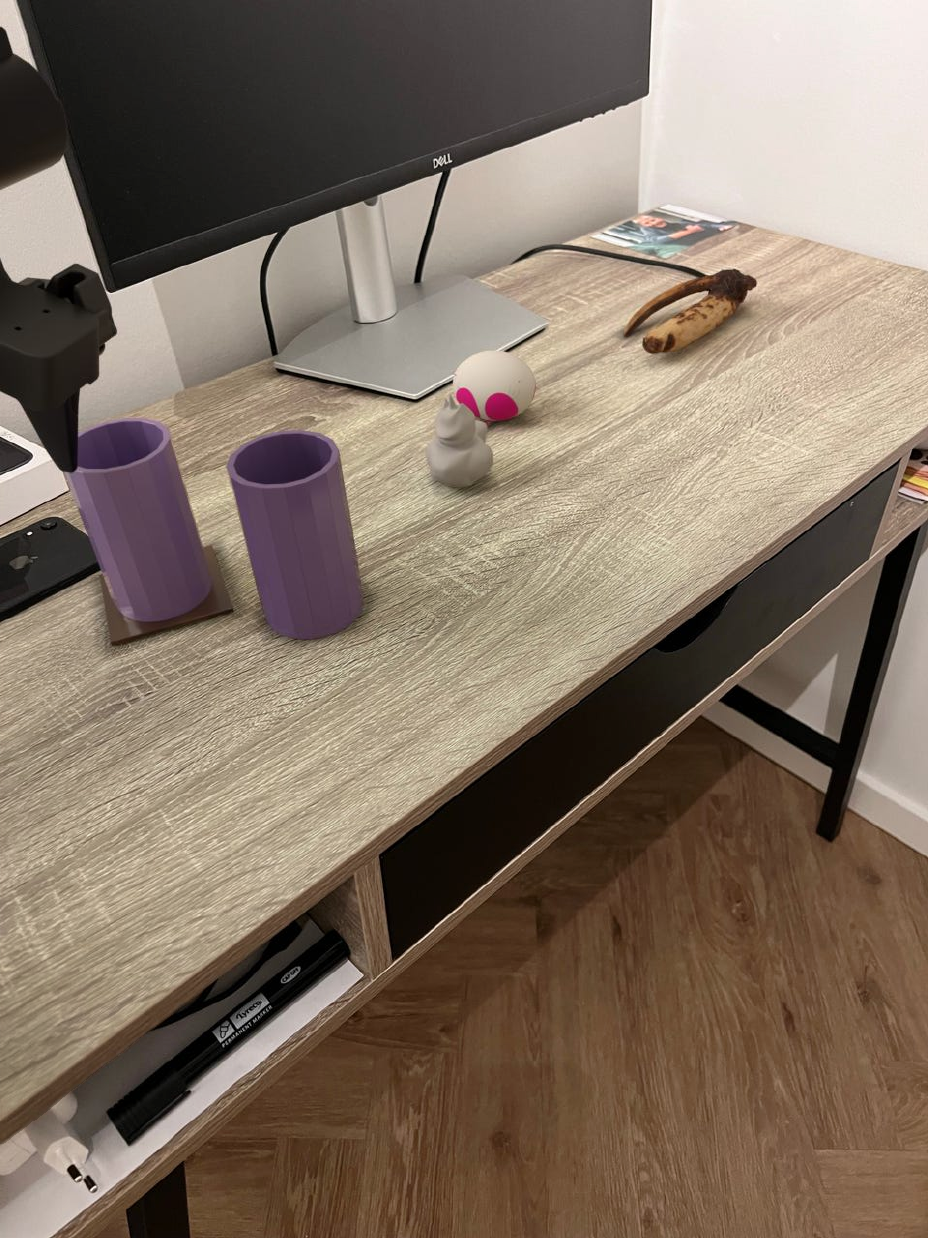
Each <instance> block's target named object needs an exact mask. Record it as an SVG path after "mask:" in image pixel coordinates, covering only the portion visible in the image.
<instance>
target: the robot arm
mask: <svg viewBox="0 0 928 1238" xmlns="http://www.w3.org/2000/svg"><path fill="white" fill-rule="evenodd" d="M68 143H69V126H68V121H67V115H66V111H65V109H64V106H63V103H62V101H61V99H60V98H59V97H57V96H56V95H55V93H54V91H53V89H52V88H51V86H50V84H49V83H48V82H47V80H46V79H45V78H44V76H43V75H42V74H41V73H40V72H39V70H37V69H36V68H35V67H34V66H33V65H32V64H31V63H30V62H28V61H27V60H26V59H24V58H22V57H21V56H20V55H18V54H16V53H14V52H13V48H12V45H11V41H10V39H9V36H8V32H7V30H6V29H5V28H4V27H3V26H0V191H2V190H4V189H7V188H8V187H11V186H13V185H15V184H18V183H19V182H21V181H24V180H27V179H28V178H30V177H32V176H35V175H37V174H39V173H41V172H43V171H45V170H49V169H50V168H52V167H54V166H55V165H56V164H57V163H59V162H60V161H61V159H62V158H63V157H64V155H65V153H66V151H67V147H68ZM117 334H118V329H117V325H116V323H115V320H114V317H113V307H112V304H111V301H110V299H109V296H108V293H107V291H106V288H105V287H104V284H103V281H102V279H101V276H100V274H99V273H98V272H96V271H95V270H92V269H90V268H88V267H86V266H84V265H82V264H80V263H73V264H70V265H69V266H68V267H66V268H64V269H63V270H60V271H59V272H57V273H56V274H54V275H53V276H52V277H51V278H50V279H49V278H39V277H28V276H27V277H25V278H24V279H22V280H20V281H18V282H16V281H14V280H13V279H12V278H11V276H10V275H9V274H8V272H7V271H6V269H5V267H4V265H3V261H2V259H1V258H0V393H2V394H5V395H6V396H8V397H11V398H13V399H14V400H16V401H18V403H19V404H20V406H21V408H22V410H23V411H24V412H25V415H26V417H27V419H28V420H29V423H30V424H31V426H32V428H33V430H34V432H35V433H36V436H37V437H38V439H39V440H40V442H41V444H42V446H43V448H44V449H45V451H46V452H47V454H48V455H49V457H50V458H51V460H52V461H53V462H54V464H55V466H56V467H57V469H58V470H59V471H60V472H63V473H64V472H69V473H73V472H74V471H76V470H77V467H78V433H79V412H80V411H79V409H80V395H81V389H83V387H85V386H86V385H91V384H93V383H95V382H96V381H98V379H99V378H100V356H102V355H103V354H104V352H105V350H106V343H107V342H109V341H110V340H111V339H113V338H114V337H115V336H117Z"/></svg>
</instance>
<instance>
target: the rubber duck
mask: <svg viewBox="0 0 928 1238" xmlns="http://www.w3.org/2000/svg"><path fill="white" fill-rule="evenodd" d="M485 423H486V422H485V421H482V420H478V419H477V420H476V416H475V415H474V414H473V412H472V411H471V410H470V409H469V408H468V407H466V406H465V405H464V404H463V403H461V404H457V403H456V402H455V400H454V398H453V396H452V394H451V393H449V395H448V399H446V398H444V400H443V402H442V405H441V407H440V409H439V411H438V412H437V414H436V416H435V421H434V435H435V436H434V437H433V438H432V439H430V441H429V442H428V444H427V446H426V454H425V455H426V461H427V465H428V467H429V472H430V475H431V477H432V478H433V480H434V481H436V482H437V483H438V484H441V485H445V486H447V487H450V488H451V487H452V488H466V487H469V486H472V485H473V484H475V483H476V482H477V481H479V480H481V479H482V478H483V477H484V476H485V475H486V474H487V473H488V472H490V470H492V467H493V463H494V452H493V449H492V447H491V446H490V445H489V444H487V435H488V424H487V425H486V424H485Z"/></svg>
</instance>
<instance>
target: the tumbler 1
mask: <svg viewBox="0 0 928 1238" xmlns="http://www.w3.org/2000/svg"><path fill="white" fill-rule="evenodd" d="M63 473H64V477H65V479H66V481H67V484H68V486H69V489H70V492H71V495H72V497H73V500H74V503H75V505H76V508H77V510H78V513H79V515H80V518H81V521H82V524H83V526H84V529H85V532H86V534H87V537H88V539H89V542H90V545H91V547H92V550H93V553H94V555H95V558H96V560H97V563H98V566H99V569H100V571H101V574H103V576H104V579H105V582H106V584H107V587H108V590H109V592H110V595H111V597H112V600H113V602H114V603H115V605H116V608H117V609H118V611H119V612H120V613H121V614H122V615H124V616H125V617H127V618H129V619H132V620H136V621H143V622H155V621H162V620H167V619H171V618H174V617H177V616H180V615H182V614H185V613H187V612H189V611H190V610H192V609H194V608H195V607H197V606H198V605H199V604H200V603H201V602H202V601H203V600H204V599H205V598H206V597H207V596H208V594H209V592H210V590H211V588H212V578H211V574H210V569H209V565H208V562H207V558H206V555H205V551H204V548H203V547H204V545H203V541H202V538H201V535H200V531H199V528H198V523H197V520H196V517H195V514H194V510H193V507H192V503H191V499H190V497H189V492H188V490H187V485H186V483H185V479H184V475H183V471H182V468H181V465H180V461H179V458H178V455H177V452H176V448H175V445H174V441H173V438H172V433H171V430H170V428H168V427H167V426H166V425H165V424H164V423H162V422H161V421H159V420H155V419H151V418H147V417H124V418H119V419H113V420H108V421H103V422H100V423H98V424H95V425H92V426H90V427H86V428H84V429H82V430H81V431H80V432H79V431H78V467H77V470H76V471H74V472H73V473H69V472H63Z"/></svg>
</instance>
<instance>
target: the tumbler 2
mask: <svg viewBox="0 0 928 1238" xmlns="http://www.w3.org/2000/svg"><path fill="white" fill-rule="evenodd" d="M225 468H226V471H227V477H228V480H229V484H230V487H231V491H232V495H233V500H234V503H235V506H236V507H235V508H236V511H237V515H238V519H239V524H240V527H241V531H242V535H243V539H244V542H245V543H244V544H245V547H246V551H247V555H248V558H249V562H250V566H251V570H252V575H253V578H254V583H255V586H256V590H257V594H258V597H259V601H260V605H261V609H262V612H263V616H264V619H265V622H266V624H267V625H268V626H269V628H270V629H271V630H272V631H273V632H276V633H277V634H278V635H280V636H283V637H286V638H288V639H289V638H290V639H293V640H295V639H296V640H314V639H315V640H316V639H321V638H325V637H329V636H331V635H334V634H337V633H338V632H341V631H342V630H344V629H346V628H347V627H349V626H350V625H352V623H354V621H355V620H356V619H357V618H358V617H359V616H360V614H361V612H362V611H363V606H364V596H363V594H364V591H363V590H364V589H363V584H362V579H361V573H360V568H359V560H358V554H357V549H356V543H355V536H354V529H353V524H352V519H351V512H350V507H349V500H348V495H347V489H346V483H345V477H344V470H343V465H342V458H341V452H340V449H339V447H338V445H337V444H336V442H335V440H334V439H332V438H330V437H329V436H326V435H325V434H323V433H321V432H318V431H317V432H316V431H310V430H305V429H293V430H279V431H275V432H271V433H266V434H263V435H259V436H257V437H254V438H253V439H250V440H248V441H246V442H244V443H242V444H241V445H240V446H239V447H238V448H236V449H235V450H234V451H233V452H232V453H231V454H230V455H229V457H228V460H227V463H226V466H225Z"/></svg>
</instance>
